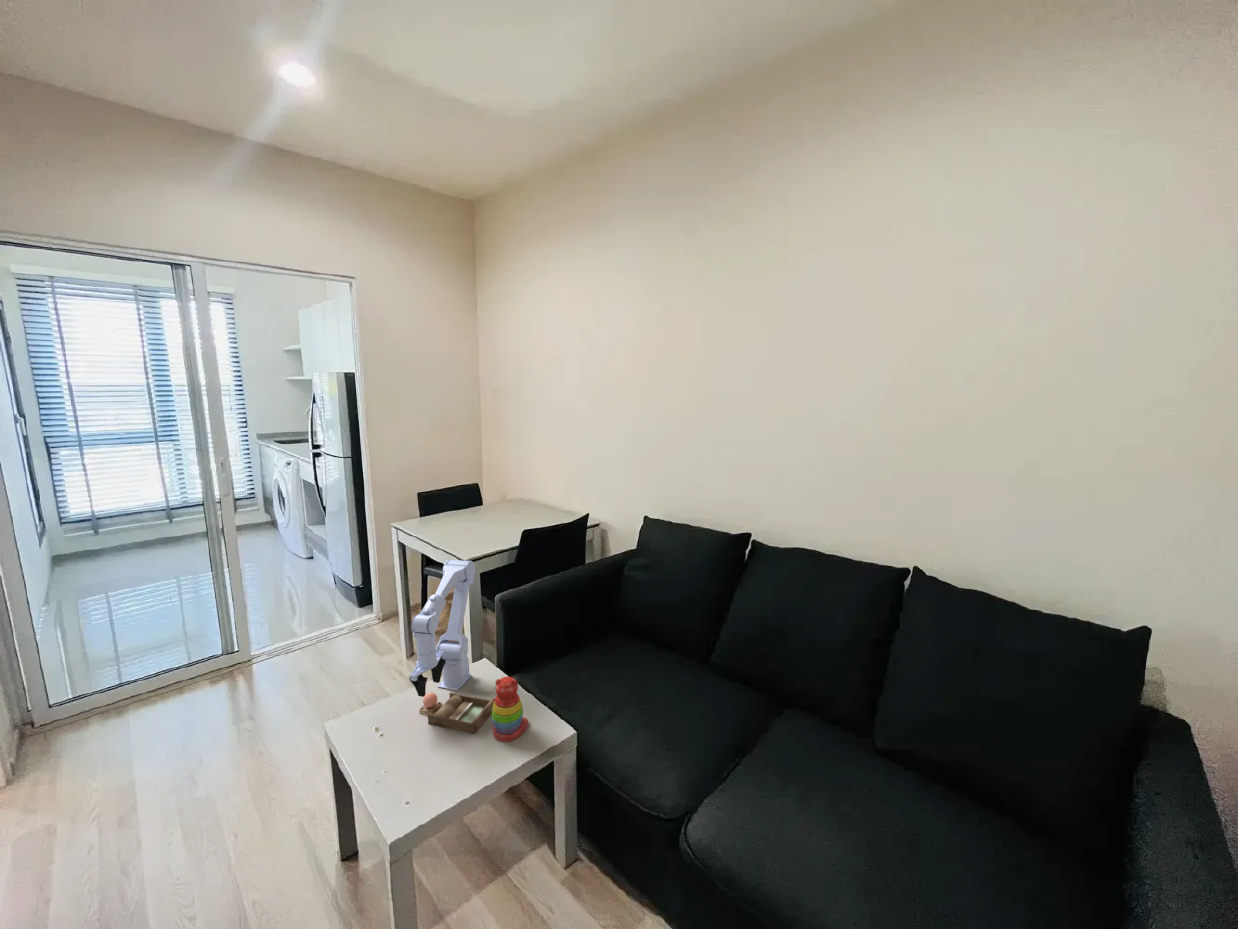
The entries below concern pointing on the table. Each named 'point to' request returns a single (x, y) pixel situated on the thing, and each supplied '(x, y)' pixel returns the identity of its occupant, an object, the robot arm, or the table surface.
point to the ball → (430, 699)
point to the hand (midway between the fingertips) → (429, 688)
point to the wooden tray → (462, 713)
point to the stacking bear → (508, 711)
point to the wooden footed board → (430, 709)
